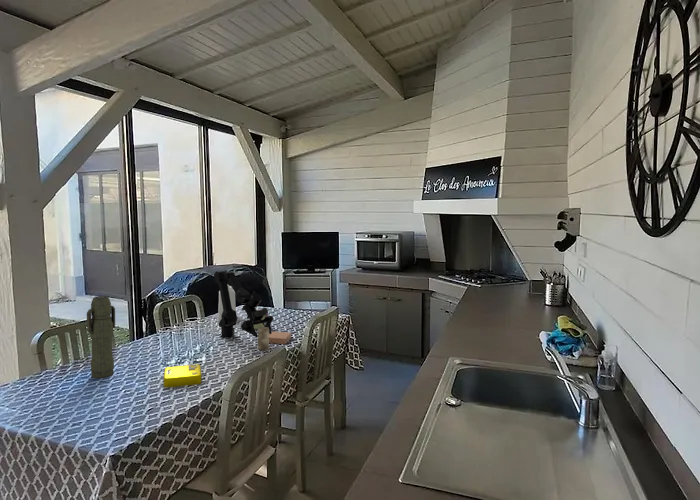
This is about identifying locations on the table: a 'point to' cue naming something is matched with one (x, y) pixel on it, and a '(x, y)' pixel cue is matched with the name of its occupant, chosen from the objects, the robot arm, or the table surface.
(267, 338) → the post
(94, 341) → the thermos
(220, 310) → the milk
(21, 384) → the table surface
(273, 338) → the base
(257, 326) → the box
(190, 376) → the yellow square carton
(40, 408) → the table surface
